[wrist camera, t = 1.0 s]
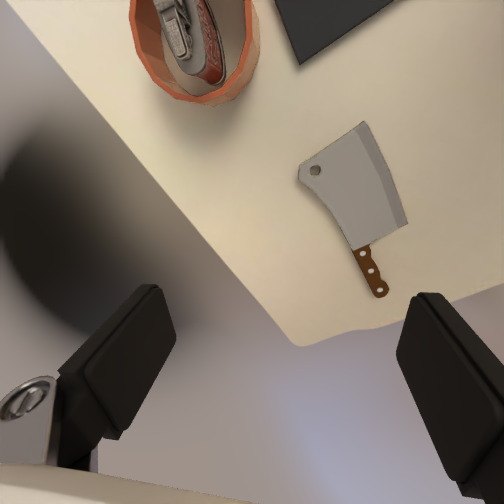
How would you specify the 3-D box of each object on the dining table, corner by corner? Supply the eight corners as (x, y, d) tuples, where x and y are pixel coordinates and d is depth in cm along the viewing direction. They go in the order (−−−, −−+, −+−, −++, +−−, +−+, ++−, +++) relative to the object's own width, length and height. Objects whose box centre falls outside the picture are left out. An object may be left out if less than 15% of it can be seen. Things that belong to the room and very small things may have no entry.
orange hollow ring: (221, -70, 22) (204, -117, 18) (278, 68, 27) (275, 56, 22) (135, 19, 27) (104, -2, 22) (195, 126, 31) (179, 126, 26)
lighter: (179, 3, 25) (118, -62, 17) (208, -12, 24) (160, -88, 16) (205, 90, 29) (166, 75, 20) (231, 80, 28) (203, 59, 19)
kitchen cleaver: (432, 279, 34) (363, 304, 38) (428, 276, 35) (361, 300, 39) (371, 116, 27) (291, 165, 30) (368, 117, 28) (291, 164, 31)
